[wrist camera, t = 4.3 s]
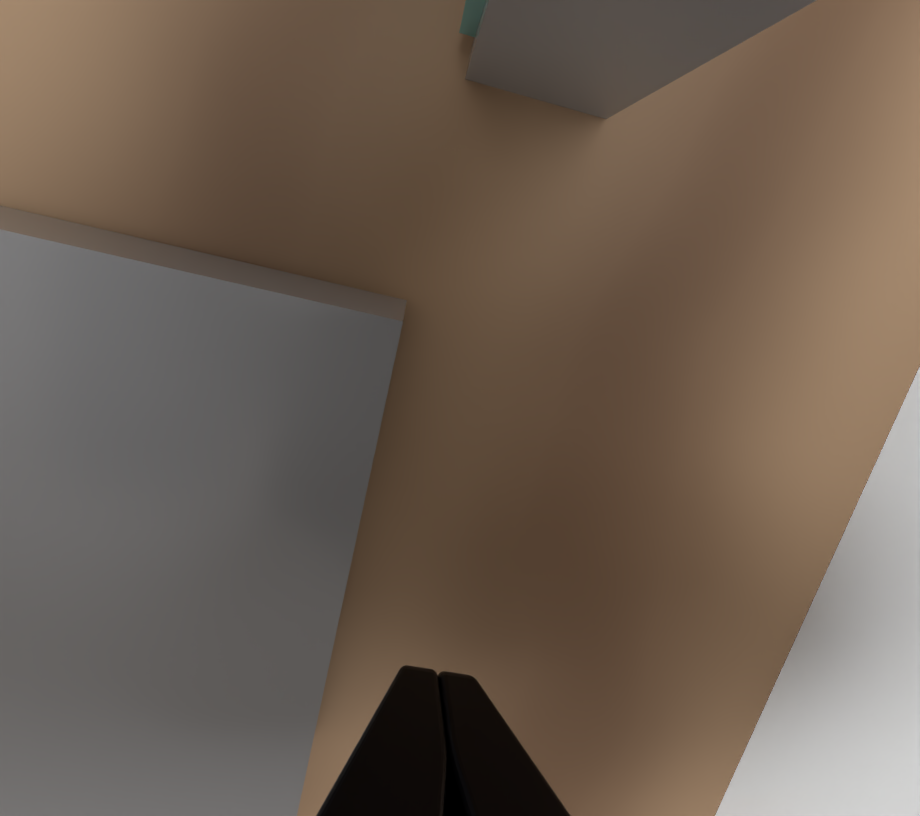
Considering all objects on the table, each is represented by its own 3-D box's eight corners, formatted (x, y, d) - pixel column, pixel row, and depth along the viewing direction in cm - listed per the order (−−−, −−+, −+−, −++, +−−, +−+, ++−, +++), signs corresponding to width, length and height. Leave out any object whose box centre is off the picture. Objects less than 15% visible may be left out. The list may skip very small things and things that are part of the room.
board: (1223, -482, 8) (1361, -602, 7) (669, 812, 14) (691, 865, 13) (-629, -1371, 5) (-917, -1809, 4) (-341, 677, 11) (-427, 729, 10)
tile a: (402, 321, 7) (-425, 132, 6) (288, 854, 9) (-332, 783, 8) (406, 298, 9) (-201, 156, 8) (313, 733, 11) (-174, 665, 10)
